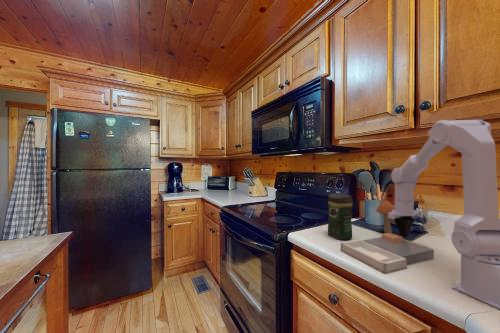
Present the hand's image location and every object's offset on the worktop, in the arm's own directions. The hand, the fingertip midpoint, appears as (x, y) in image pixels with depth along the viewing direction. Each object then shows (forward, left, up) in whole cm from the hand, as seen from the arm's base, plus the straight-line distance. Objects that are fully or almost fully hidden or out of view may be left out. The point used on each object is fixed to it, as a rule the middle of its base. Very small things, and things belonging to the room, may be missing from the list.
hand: (403, 236), depth 76 cm
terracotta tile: (0, +6, -1) cm, 6 cm away
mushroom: (+13, -8, -4) cm, 15 cm away
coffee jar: (+17, +15, -4) cm, 23 cm away
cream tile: (-6, +22, -2) cm, 23 cm away
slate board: (-3, +8, -4) cm, 10 cm away
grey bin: (-3, +21, -4) cm, 21 cm away
